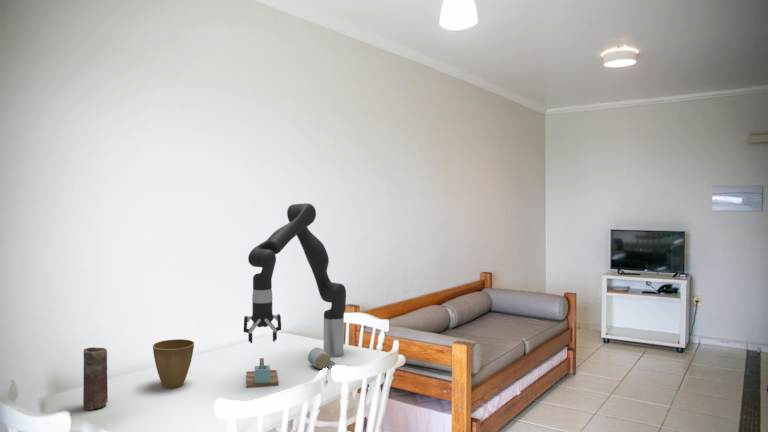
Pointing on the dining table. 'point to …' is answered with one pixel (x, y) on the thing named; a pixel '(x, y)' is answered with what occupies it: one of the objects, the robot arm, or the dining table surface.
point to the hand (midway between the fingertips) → (262, 342)
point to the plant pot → (173, 361)
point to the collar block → (262, 374)
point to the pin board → (251, 383)
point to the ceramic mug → (319, 358)
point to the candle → (95, 378)
